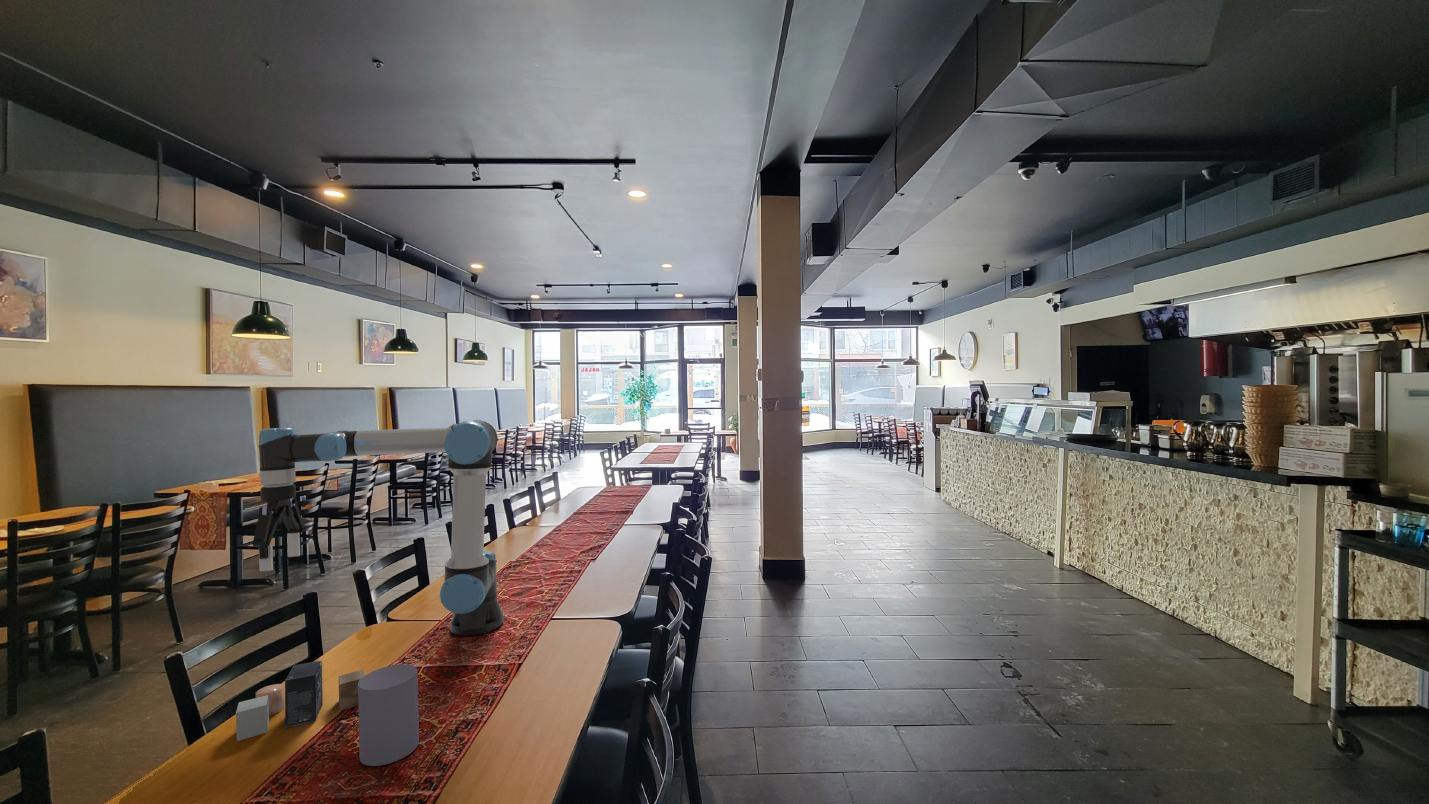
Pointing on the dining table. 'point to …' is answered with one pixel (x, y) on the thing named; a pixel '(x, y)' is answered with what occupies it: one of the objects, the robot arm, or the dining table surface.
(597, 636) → the dining table surface
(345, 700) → the walnut block
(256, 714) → the slate block
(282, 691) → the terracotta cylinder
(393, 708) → the container
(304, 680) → the box
